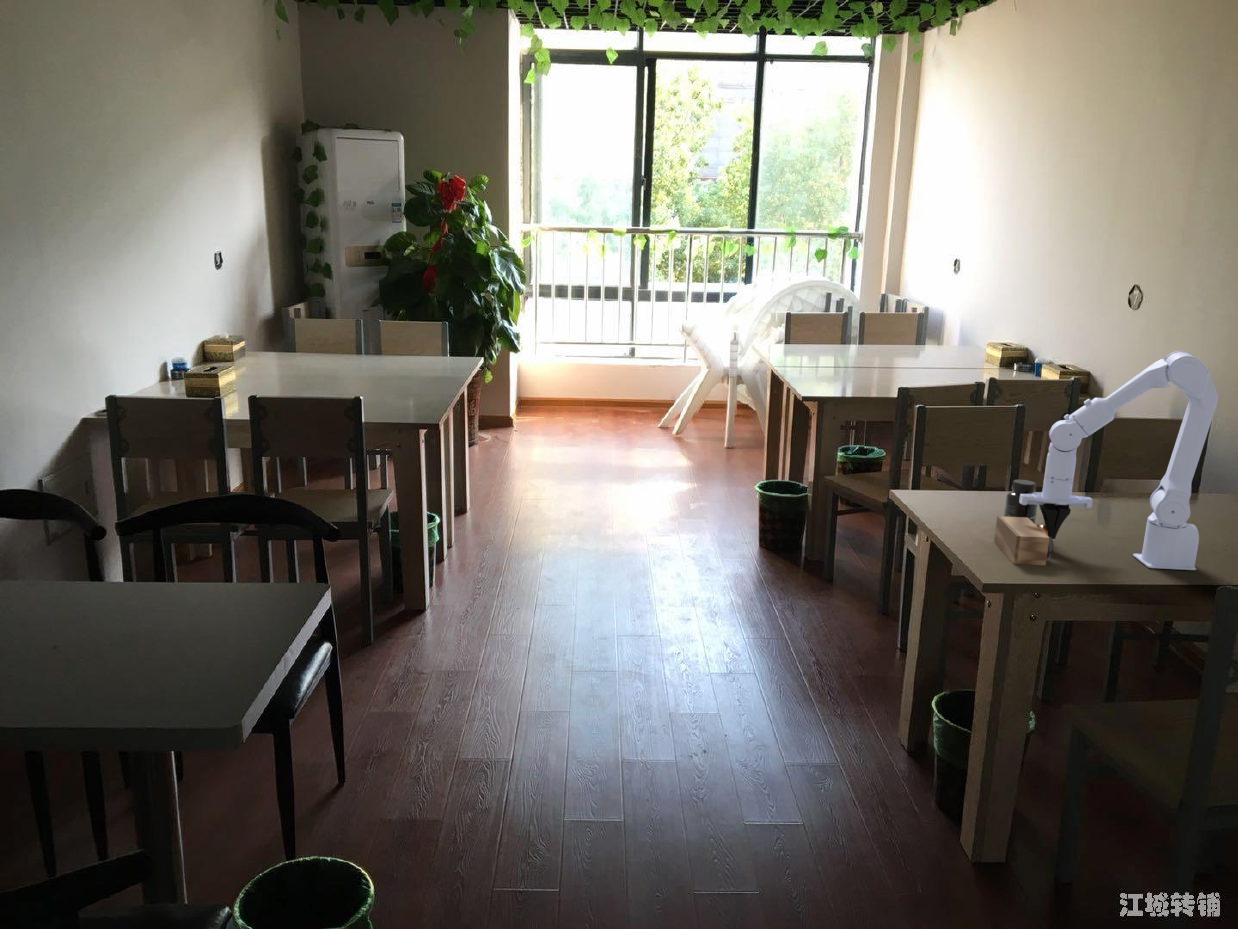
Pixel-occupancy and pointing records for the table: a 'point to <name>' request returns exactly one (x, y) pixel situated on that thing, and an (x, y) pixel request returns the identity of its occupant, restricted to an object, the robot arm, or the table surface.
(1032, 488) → the supplement bottle
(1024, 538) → the catch block
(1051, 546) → the knob near
